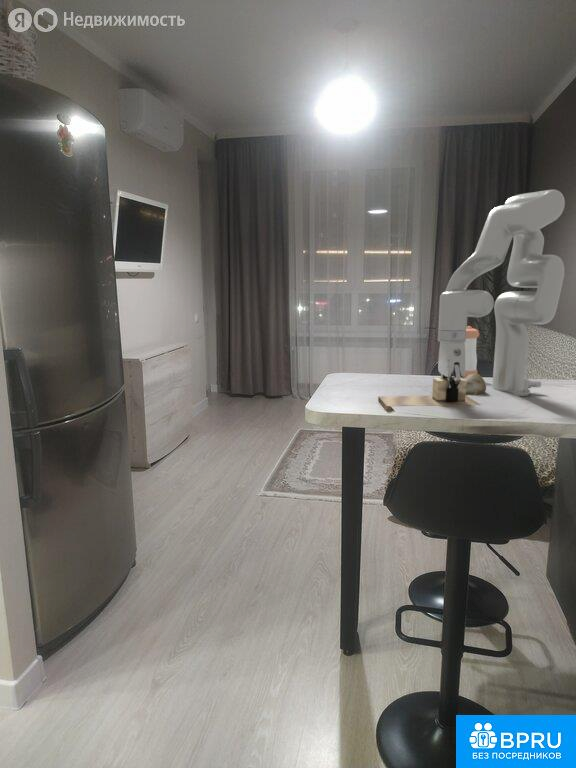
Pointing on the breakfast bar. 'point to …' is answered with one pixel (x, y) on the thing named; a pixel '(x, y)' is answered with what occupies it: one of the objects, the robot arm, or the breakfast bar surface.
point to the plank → (418, 401)
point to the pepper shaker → (470, 351)
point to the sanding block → (441, 386)
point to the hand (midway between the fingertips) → (448, 399)
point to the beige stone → (475, 384)
